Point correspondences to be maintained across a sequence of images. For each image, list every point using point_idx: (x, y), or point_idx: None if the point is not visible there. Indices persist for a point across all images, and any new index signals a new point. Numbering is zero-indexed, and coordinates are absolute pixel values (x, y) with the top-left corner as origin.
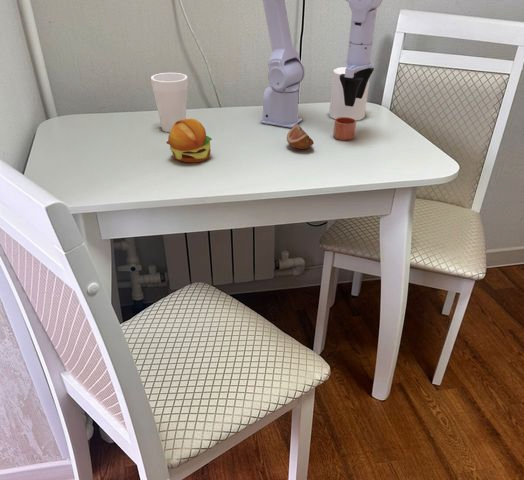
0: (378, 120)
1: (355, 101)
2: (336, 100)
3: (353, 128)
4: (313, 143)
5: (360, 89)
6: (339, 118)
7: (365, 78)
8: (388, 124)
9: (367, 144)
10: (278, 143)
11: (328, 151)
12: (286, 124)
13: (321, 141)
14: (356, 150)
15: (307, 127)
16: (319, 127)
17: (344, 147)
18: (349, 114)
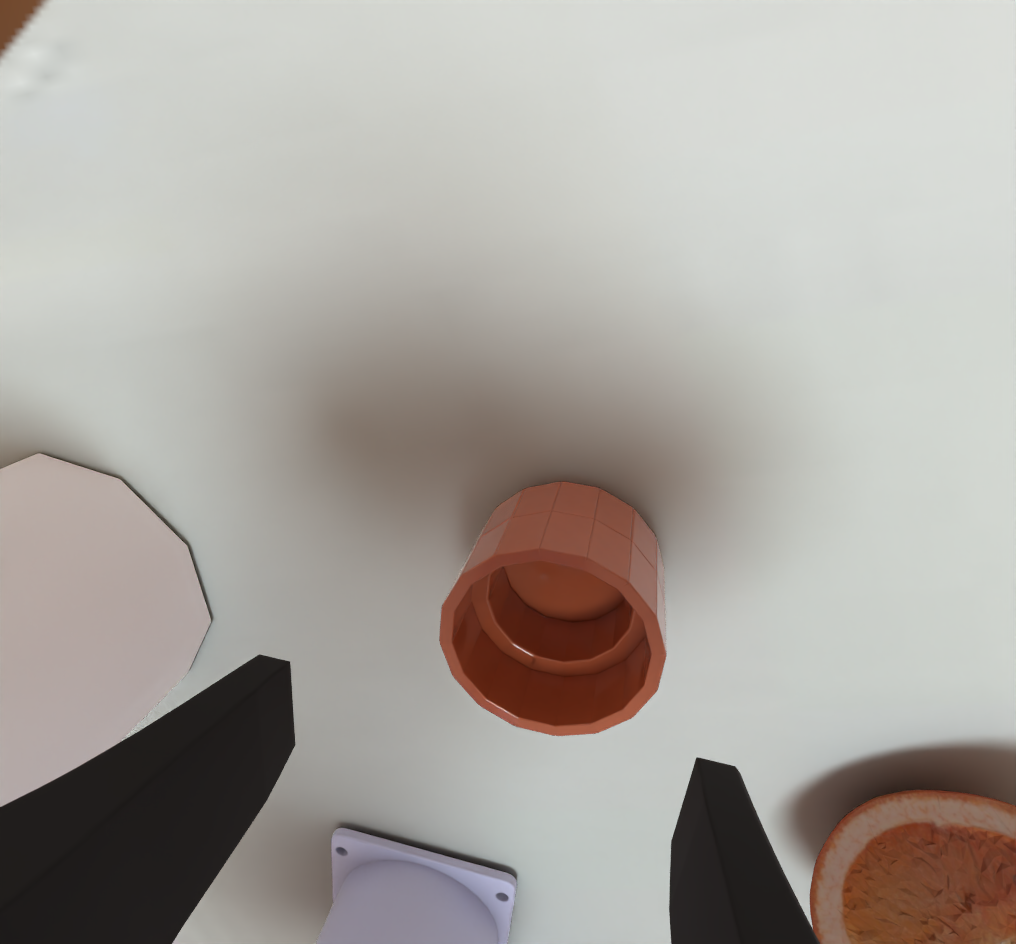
0: (28, 330)
1: (36, 613)
2: (97, 750)
3: (605, 537)
4: (1012, 805)
5: (210, 785)
6: (491, 698)
7: (29, 939)
8: (64, 222)
9: (683, 336)
10: None
11: (965, 643)
12: (489, 910)
13: (717, 703)
14: (891, 417)
15: (449, 792)
16: (414, 727)
17: (825, 529)
18: (154, 584)
